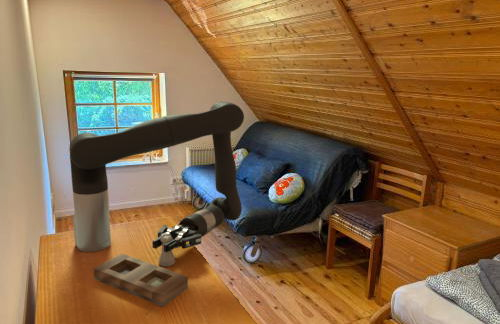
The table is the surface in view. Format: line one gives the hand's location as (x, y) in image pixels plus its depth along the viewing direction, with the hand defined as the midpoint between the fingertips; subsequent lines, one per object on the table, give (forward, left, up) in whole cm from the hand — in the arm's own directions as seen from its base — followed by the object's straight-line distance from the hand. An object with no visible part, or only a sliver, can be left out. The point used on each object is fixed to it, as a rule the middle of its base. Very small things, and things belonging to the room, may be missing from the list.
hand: (159, 246), depth 96 cm
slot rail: (+1, -8, -6) cm, 10 cm away
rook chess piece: (0, +3, -6) cm, 7 cm away
